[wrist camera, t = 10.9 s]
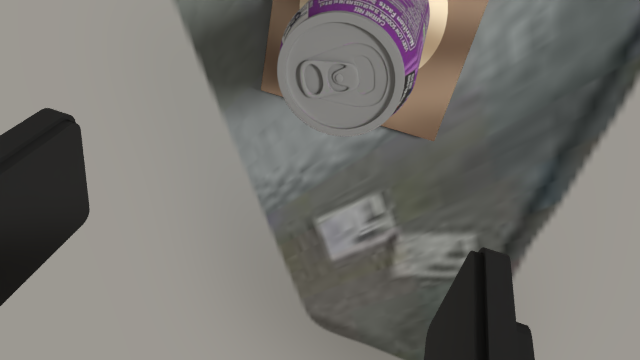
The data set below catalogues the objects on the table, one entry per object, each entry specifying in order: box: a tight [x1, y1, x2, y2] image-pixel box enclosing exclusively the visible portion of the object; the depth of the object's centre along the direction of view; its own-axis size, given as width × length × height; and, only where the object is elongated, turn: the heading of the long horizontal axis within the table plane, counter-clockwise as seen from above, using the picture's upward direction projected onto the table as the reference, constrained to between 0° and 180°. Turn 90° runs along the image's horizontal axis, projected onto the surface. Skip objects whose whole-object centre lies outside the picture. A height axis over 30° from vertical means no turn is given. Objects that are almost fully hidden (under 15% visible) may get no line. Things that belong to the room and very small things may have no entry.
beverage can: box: [277, 0, 430, 136], centre depth 28 cm, size 7×7×12 cm
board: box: [261, 0, 488, 141], centre depth 34 cm, size 16×14×2 cm
